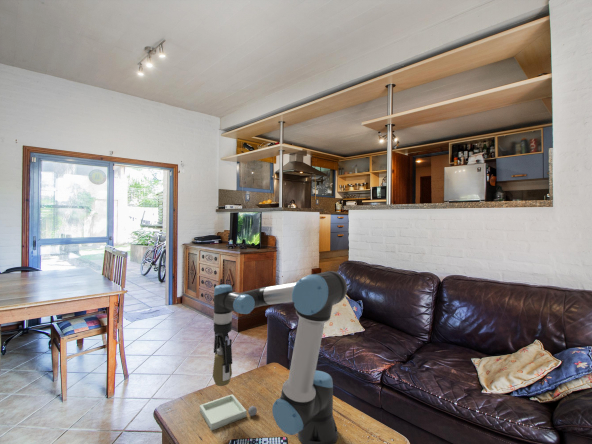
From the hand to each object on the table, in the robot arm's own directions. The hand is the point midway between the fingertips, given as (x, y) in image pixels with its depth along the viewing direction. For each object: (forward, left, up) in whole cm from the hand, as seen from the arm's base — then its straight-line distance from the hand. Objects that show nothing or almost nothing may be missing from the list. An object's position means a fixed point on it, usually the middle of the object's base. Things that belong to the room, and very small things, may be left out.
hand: (222, 375), depth 128 cm
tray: (0, 0, -16) cm, 16 cm away
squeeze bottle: (0, 0, -3) cm, 3 cm away
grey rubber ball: (-8, -10, -16) cm, 21 cm away
